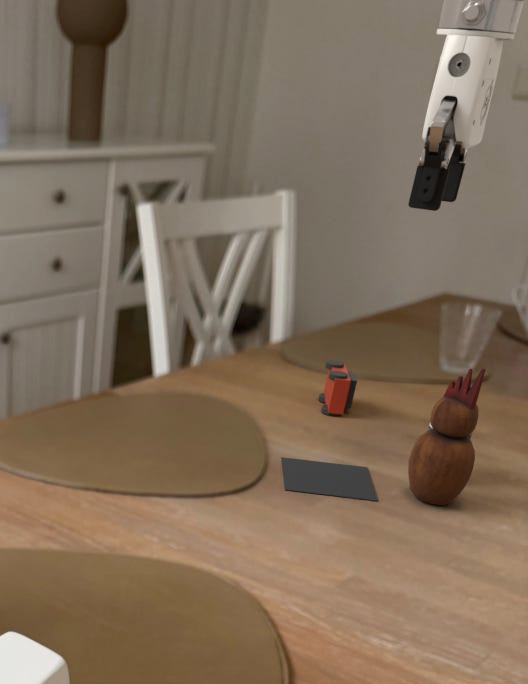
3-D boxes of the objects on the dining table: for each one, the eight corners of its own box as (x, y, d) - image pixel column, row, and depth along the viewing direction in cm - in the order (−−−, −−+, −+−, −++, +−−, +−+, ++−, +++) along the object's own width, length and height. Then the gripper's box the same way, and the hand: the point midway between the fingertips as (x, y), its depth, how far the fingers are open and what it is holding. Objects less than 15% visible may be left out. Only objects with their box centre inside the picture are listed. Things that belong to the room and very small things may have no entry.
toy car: (350, 418, 130) (360, 378, 127) (321, 415, 131) (330, 375, 128) (344, 400, 137) (353, 361, 134) (317, 397, 137) (325, 358, 134)
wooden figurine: (469, 511, 106) (512, 374, 98) (418, 510, 105) (457, 372, 97) (442, 486, 111) (481, 355, 103) (394, 485, 111) (429, 352, 103)
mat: (367, 467, 115) (367, 467, 115) (377, 501, 107) (377, 500, 107) (281, 457, 116) (281, 457, 116) (285, 490, 108) (285, 489, 108)
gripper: (505, 19, 91) (453, 217, 100) (528, 27, 104) (479, 201, 113) (423, 14, 94) (379, 207, 103) (455, 22, 107) (414, 193, 116)
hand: (432, 204), depth 108 cm, fingers open, 9 cm apart
